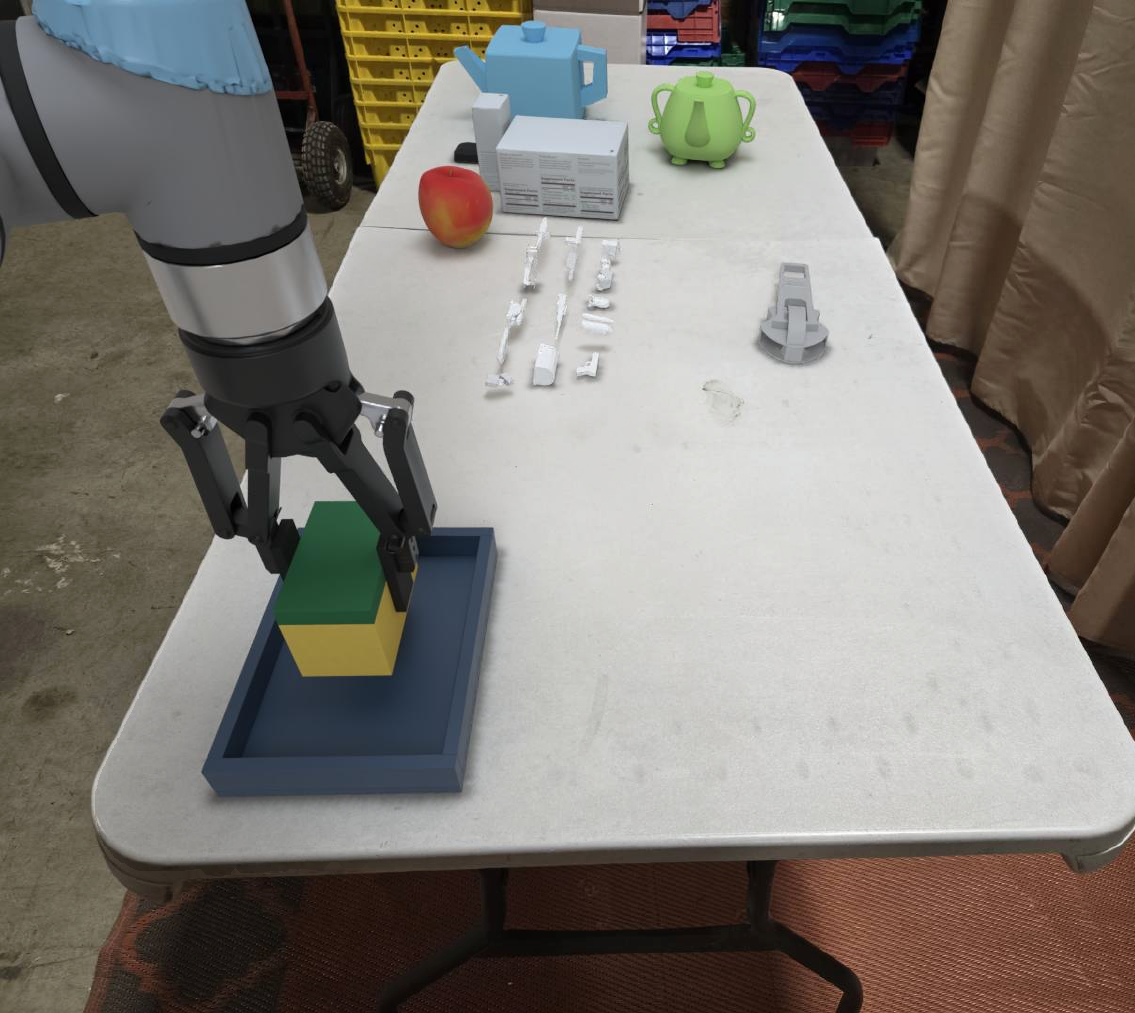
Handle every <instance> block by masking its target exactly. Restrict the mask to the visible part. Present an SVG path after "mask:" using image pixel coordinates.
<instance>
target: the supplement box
mask: <svg viewBox="0 0 1135 1013" xmlns="http://www.w3.org/2000/svg"><path fill="white" fill-rule="evenodd" d="M629 144H630V142H629V121H615V120H614V121H612V120H595V119H583V120H582V119H565V118H548V117H533V116H520V115H516V117H515V118H514V119H513V121H512V123H511V124H510V126H509V128H508V129H507V131H506V132H505V134H504V136H503V137H502V139H501V140H500V142H499V144H498V145H497V147H496V148H495V152H496V161H497V169H498V178H499V187H500V191H499V195H500V206H501V212H502V213H513V214H529V215H543V216H555V217H556V216H558V217H571V218H575V217H576V218H587V219H600V220H601V219H602V220H619V217H620V214H621V212H622V209H623V208H622V207H623V204H624V201H625V198H626V194H627V192H628V189H629V185H630V153H629V152H630V151H629V150H630V148H629V146H630V145H629Z"/></svg>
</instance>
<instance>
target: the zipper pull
mask: <svg viewBox="0 0 1135 1013" xmlns="http://www.w3.org/2000/svg"><path fill="white" fill-rule="evenodd" d="M785 273H796V274H803V277H793V276H785ZM778 275H779V276H778V286H777V288H778V289H777V302H776V305H769V307H768V310H767V316H766V320H765V321H763V322H761V323H760V327H759V335H758V340H757V341H758V345H759V346H760V348H761V349H762V350H763V351H764V352H765V353H766V354H767V355H769V356H771V357H772V358H774V359H776V360H778V361H780V362H784V363H786V364H792V365H797V364H799V365H800V364H804V363H805V364H806V363H808V362H812V361H813V360H815V359H818V358H819V357H820V356H821V355H822V354H824V352H825V351H826V349H827V344H828V340H829V334H830V330H829V328H827V327H826V326H824V325H822V324H820V323H819V319H820V315H821V311H820V310H819V309H815V308H814V300H813V292H812V286H811V284H812V283H811V276H810V268H809V265H808V264H806V263H799V262H786V261H785V262H781V263H780V266H779V274H778Z"/></svg>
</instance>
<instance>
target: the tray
mask: <svg viewBox="0 0 1135 1013" xmlns="http://www.w3.org/2000/svg"><path fill="white" fill-rule="evenodd" d="M304 528H305V526H304V527H300V526H299V527H297V530H298V533H299V535H300V538H301V536H302V533H303V530H304ZM415 539H416V543H417V547H418V551H419V554H418V558H417V565H418V568H417V573H416V577H415V581H414V585H413V589H412V593H411V598H410V602H409V606H408V610H407V614H406V618H405V623H404V627H403V631H402V635H401V639H400V644H399V648H398V652H397V656H396V660H395V664H394V669H393V673H392V675H374V676H302V674H301V672H300V670H299V668H298V666H297V664H296V662H295V659H294V657H293V655H292V653H291V651H290V649H289V647H288V645H287V642H286V640H285V638H284V636H283V634H282V632H281V630H280V627H279V625H278V623H277V621H276V619H275V617H274V615H273V612H272V611H273V608H274V605H275V603H276V600H277V598H278V595H279V592H280V590H281V587H282V585H283V580H282V578H281V575H280V574H278V578H277V580H276V582H275V585H274V587H273V590H272V591H271V592H272V593H271V595H270V598H269V600H268V603H267V605H266V608H265V610H264V613H263V615H262V617H261V620H260V622H259V625H258V627H257V630H256V632H255V636H254V638H253V639H252V643H251V646H250V648H249V649H248V650H249V651H248V653H247V656H246V658H245V661H244V663H243V665H242V667H241V670H240V672H239V673H240V674H239V676H238V678H237V681H236V683H235V686H234V688H233V691H232V693H231V696H230V698H229V701H228V703H227V706H226V708H225V711H224V714H223V716H222V718H221V721H220V724H219V726H218V729H217V732H216V734H215V736H214V739H213V741H212V744H211V746H210V749H209V751H208V754H207V756H206V759H205V761H204V764H203V766H202V769H201V771H200V773H201V774H202V776H203V777H204V779H205V780H206V782H207V783H208V785H209V786H210V787H211V789H212V790H213V792H214V793H215V794H216V795H217V797H219V798H220V797H221V798H222V797H268V796H269V797H272V796H275V797H276V796H277V797H278V796H316V795H317V796H321V795H323V796H325V795H374V794H375V795H377V794H378V795H379V794H424V793H426V794H427V793H429V794H430V793H433V794H434V793H461V792H463V785H464V779H465V771H466V766H467V760H468V753H469V744H470V739H471V733H472V726H473V725H472V724H473V720H474V712H475V704H476V698H477V693H478V687H479V679H480V672H481V667H482V659H483V653H484V647H485V646H484V645H485V638H486V632H487V626H488V620H489V613H490V606H491V601H492V593H493V586H494V580H495V575H496V574H495V572H496V567H497V560H498V549H497V548H498V547H497V542H496V535H495V528H494V527H493V526H457V527H456V526H445V527H444V526H433V528H432V532H431V535H430V536H429V537H427V538H419V537H417V536H415Z"/></svg>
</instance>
